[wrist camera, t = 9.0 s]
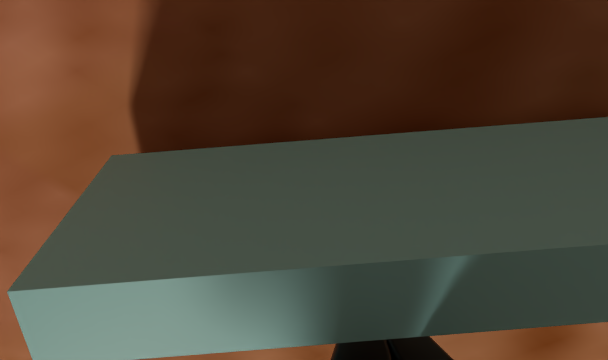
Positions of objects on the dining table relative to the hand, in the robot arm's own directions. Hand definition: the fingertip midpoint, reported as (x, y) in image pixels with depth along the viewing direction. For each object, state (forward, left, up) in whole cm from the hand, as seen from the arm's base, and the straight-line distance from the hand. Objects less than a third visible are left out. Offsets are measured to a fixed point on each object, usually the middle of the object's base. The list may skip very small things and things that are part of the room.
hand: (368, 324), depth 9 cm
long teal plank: (-2, -2, -2) cm, 4 cm away
